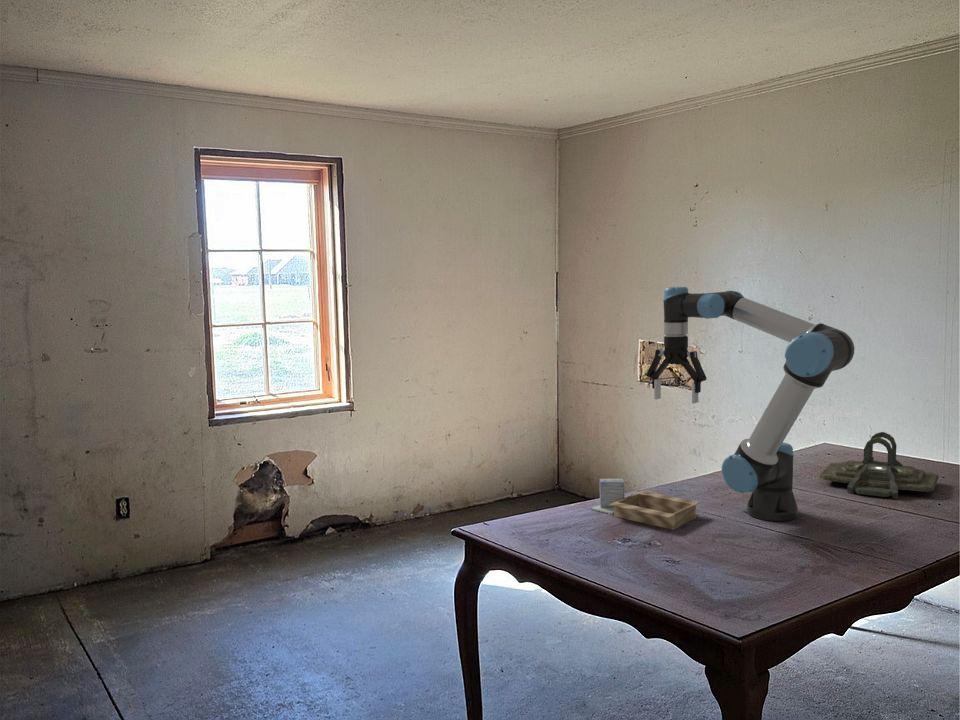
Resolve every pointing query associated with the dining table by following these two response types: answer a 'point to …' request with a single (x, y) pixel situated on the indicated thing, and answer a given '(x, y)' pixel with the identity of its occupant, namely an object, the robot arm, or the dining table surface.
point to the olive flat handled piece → (880, 473)
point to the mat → (604, 509)
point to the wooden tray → (656, 509)
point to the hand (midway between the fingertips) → (676, 400)
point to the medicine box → (611, 491)
